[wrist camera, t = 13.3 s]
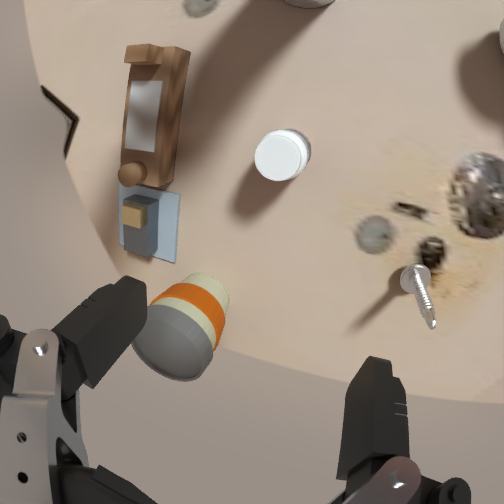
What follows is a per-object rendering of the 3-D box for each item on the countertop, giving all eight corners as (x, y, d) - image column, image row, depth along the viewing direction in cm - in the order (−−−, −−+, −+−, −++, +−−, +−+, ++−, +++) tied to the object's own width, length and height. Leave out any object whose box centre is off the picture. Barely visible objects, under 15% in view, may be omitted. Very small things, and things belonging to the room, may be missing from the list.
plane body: (151, 52, 35) (117, 45, 28) (190, 52, 34) (160, 41, 27) (137, 173, 44) (104, 185, 37) (173, 180, 43) (143, 194, 36)
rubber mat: (120, 181, 46) (118, 182, 45) (180, 194, 44) (178, 195, 43) (121, 243, 51) (119, 244, 51) (175, 261, 49) (174, 263, 49)
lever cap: (134, 193, 45) (118, 201, 41) (159, 199, 44) (143, 208, 41) (134, 242, 49) (119, 252, 46) (157, 249, 49) (143, 260, 45)
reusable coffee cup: (173, 310, 55) (132, 362, 42) (174, 254, 49) (122, 303, 36) (234, 332, 53) (203, 393, 40) (244, 275, 47) (209, 336, 34)
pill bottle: (272, 172, 39) (253, 189, 30) (265, 131, 37) (243, 135, 28) (314, 168, 37) (308, 183, 28) (308, 125, 35) (300, 126, 26)
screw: (413, 291, 40) (391, 276, 40) (433, 268, 38) (411, 251, 38) (431, 348, 29) (405, 332, 29) (459, 321, 26) (434, 303, 26)
